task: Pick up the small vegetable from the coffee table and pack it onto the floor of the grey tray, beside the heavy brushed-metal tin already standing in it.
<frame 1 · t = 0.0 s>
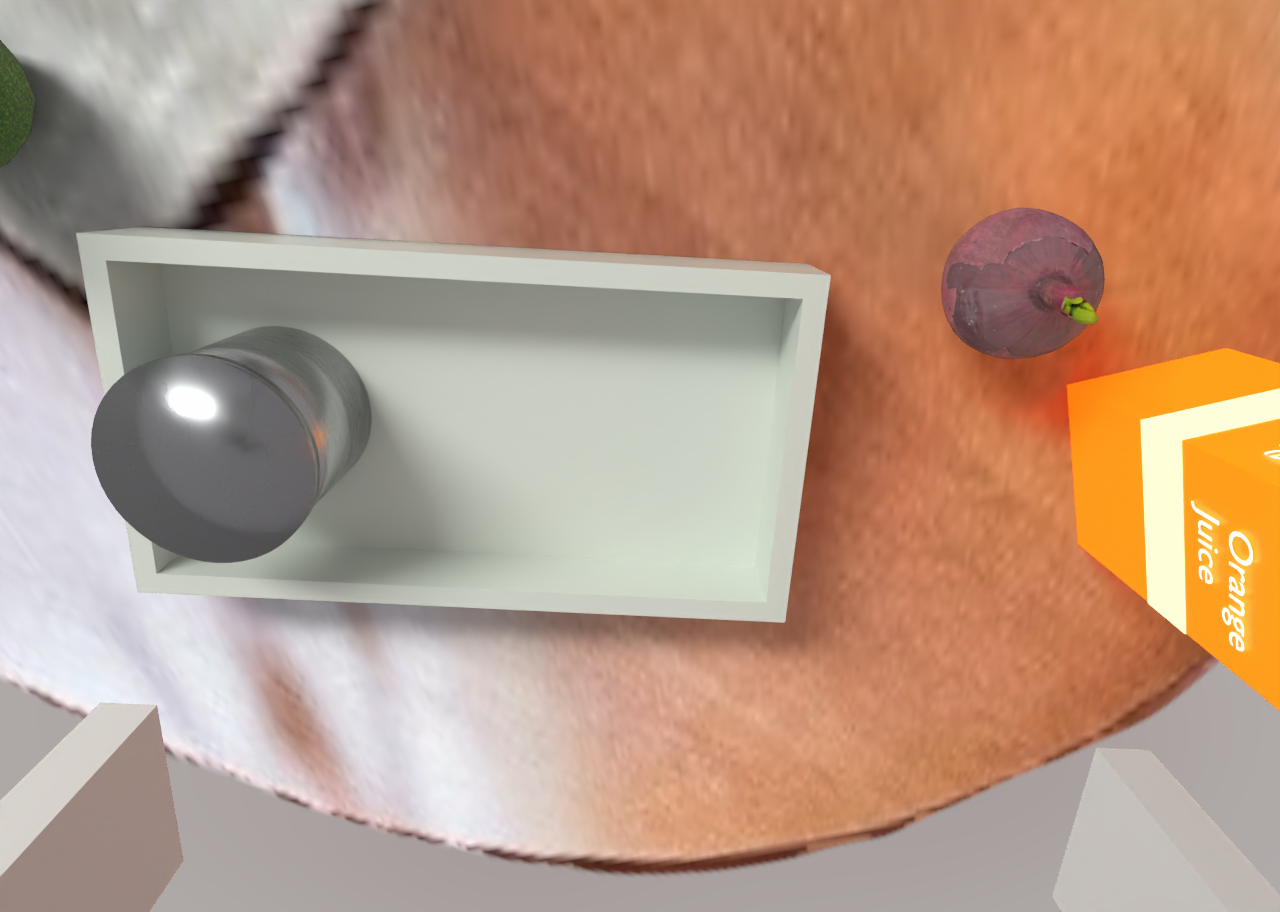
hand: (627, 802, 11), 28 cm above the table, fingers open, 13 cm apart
orange juice: (1147, 448, 39), on the table
vegetable: (979, 273, 37), on the table
grey tray: (480, 415, 39), on the table
tin: (286, 410, 38), point 1 cm above the table, touching grey tray
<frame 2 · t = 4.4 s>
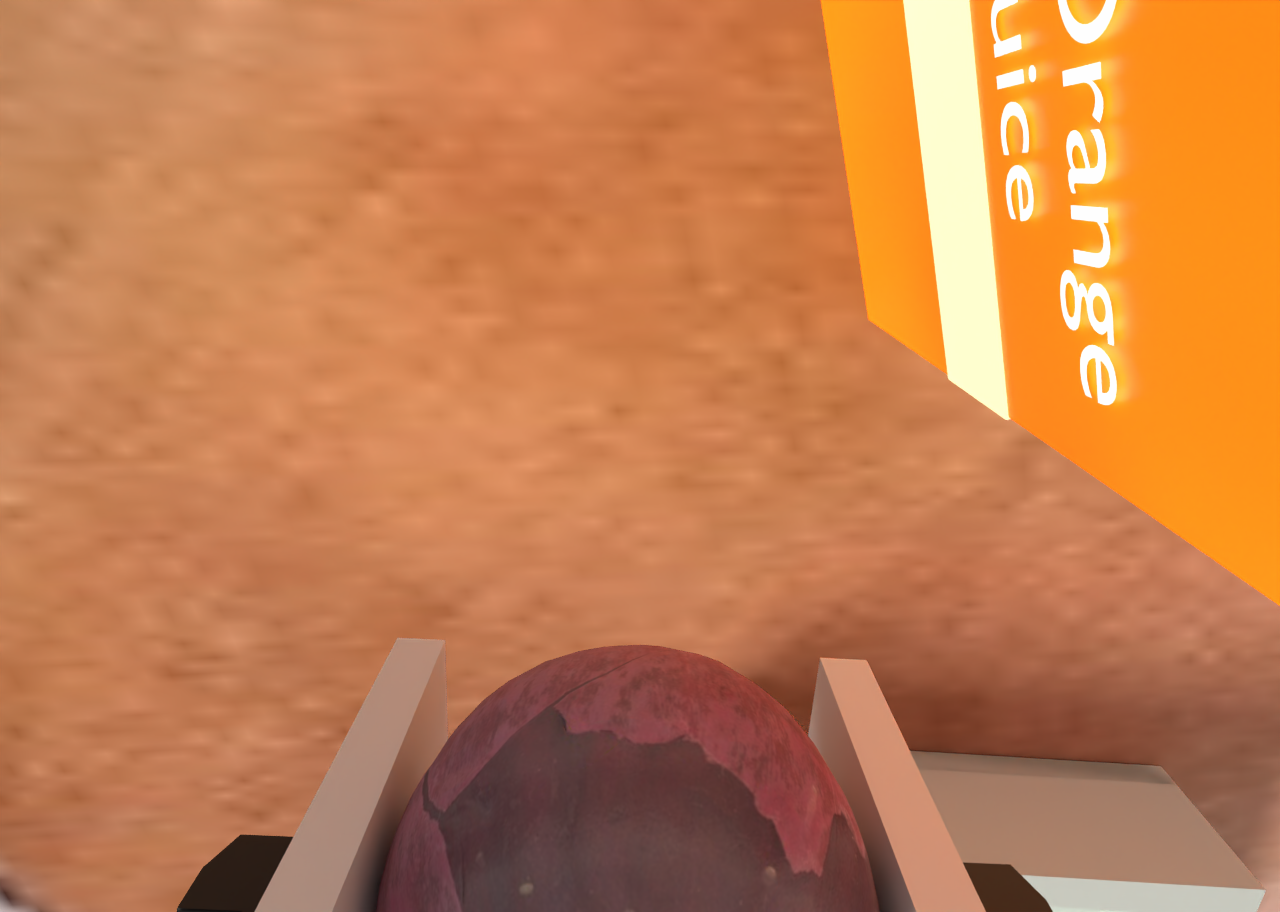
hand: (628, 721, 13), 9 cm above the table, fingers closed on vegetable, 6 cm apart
orange juice: (1026, 119, 19), on the table
vegetable: (629, 700, 14), point 9 cm above the table, touching gripper
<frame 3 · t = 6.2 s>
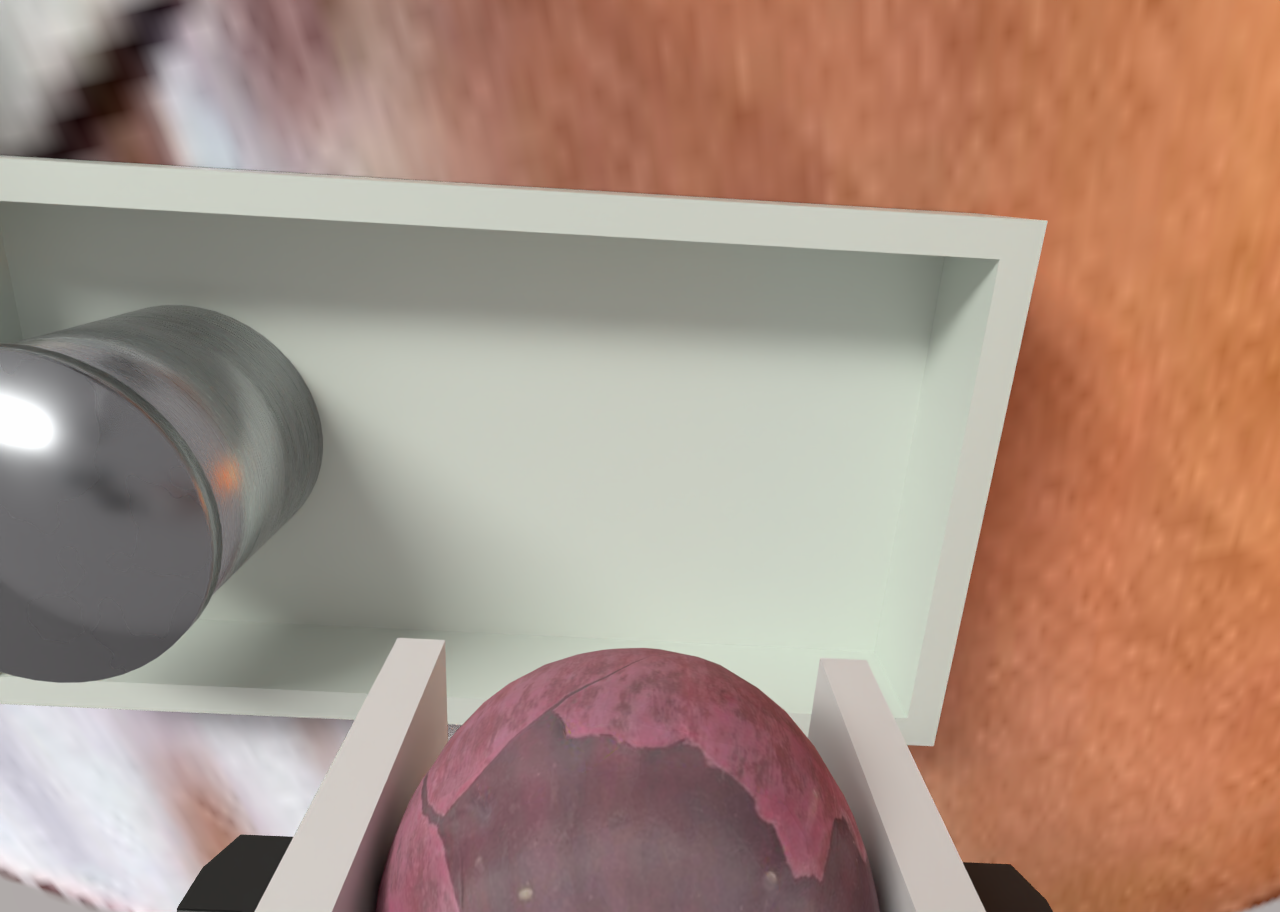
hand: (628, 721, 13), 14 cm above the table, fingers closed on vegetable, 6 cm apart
vegetable: (629, 702, 14), point 14 cm above the table, touching gripper
grey tray: (482, 437, 26), on the table
tin: (197, 430, 26), point 1 cm above the table, touching grey tray
when the fingers open (2 cm above the table, at t = 8.6 s): vegetable drops 1 cm, resting on grey tray.
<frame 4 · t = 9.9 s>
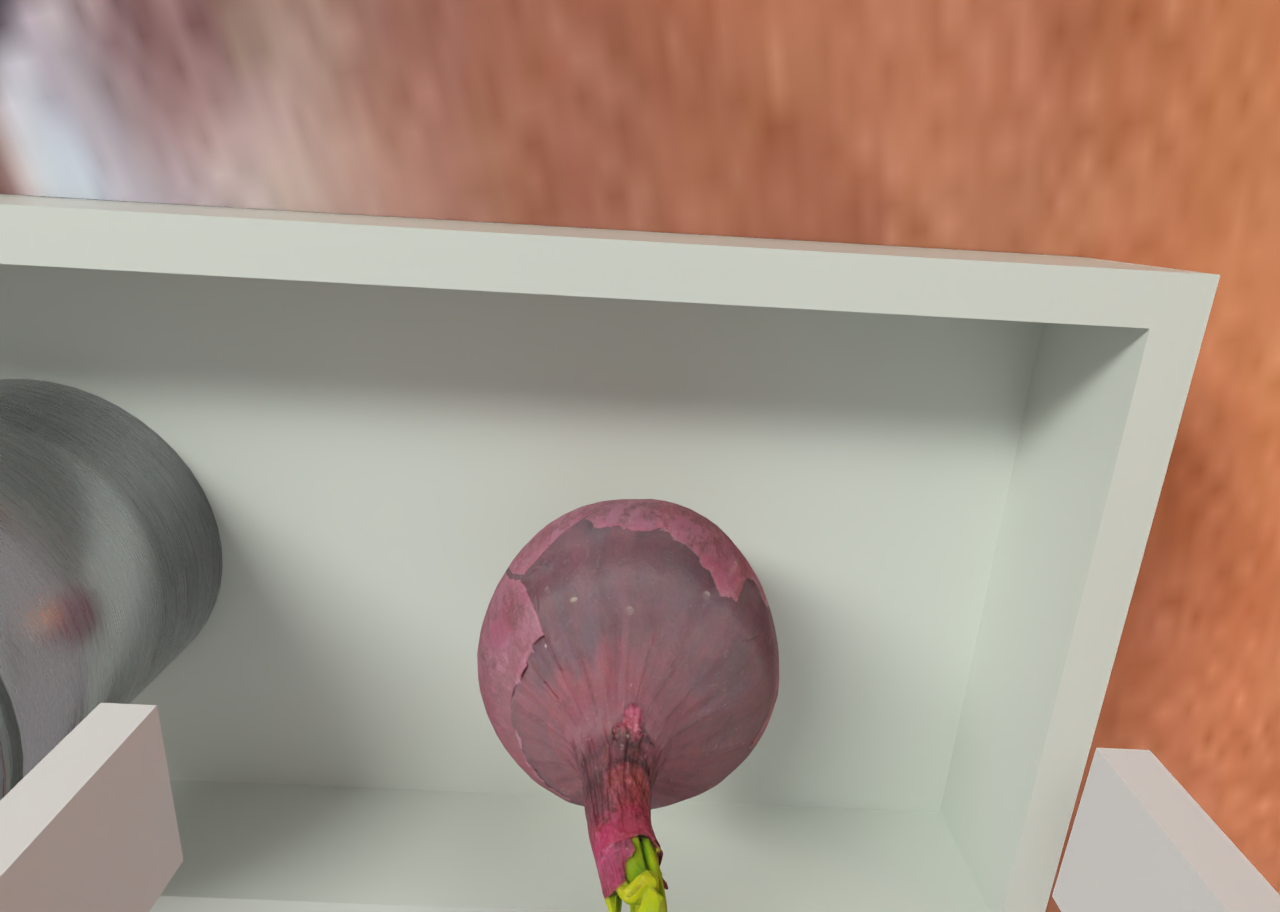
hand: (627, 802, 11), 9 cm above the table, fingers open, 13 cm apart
vegetable: (628, 564, 20), point 1 cm above the table, touching grey tray
grey tray: (434, 544, 20), on the table
tin: (56, 539, 19), point 1 cm above the table, touching grey tray
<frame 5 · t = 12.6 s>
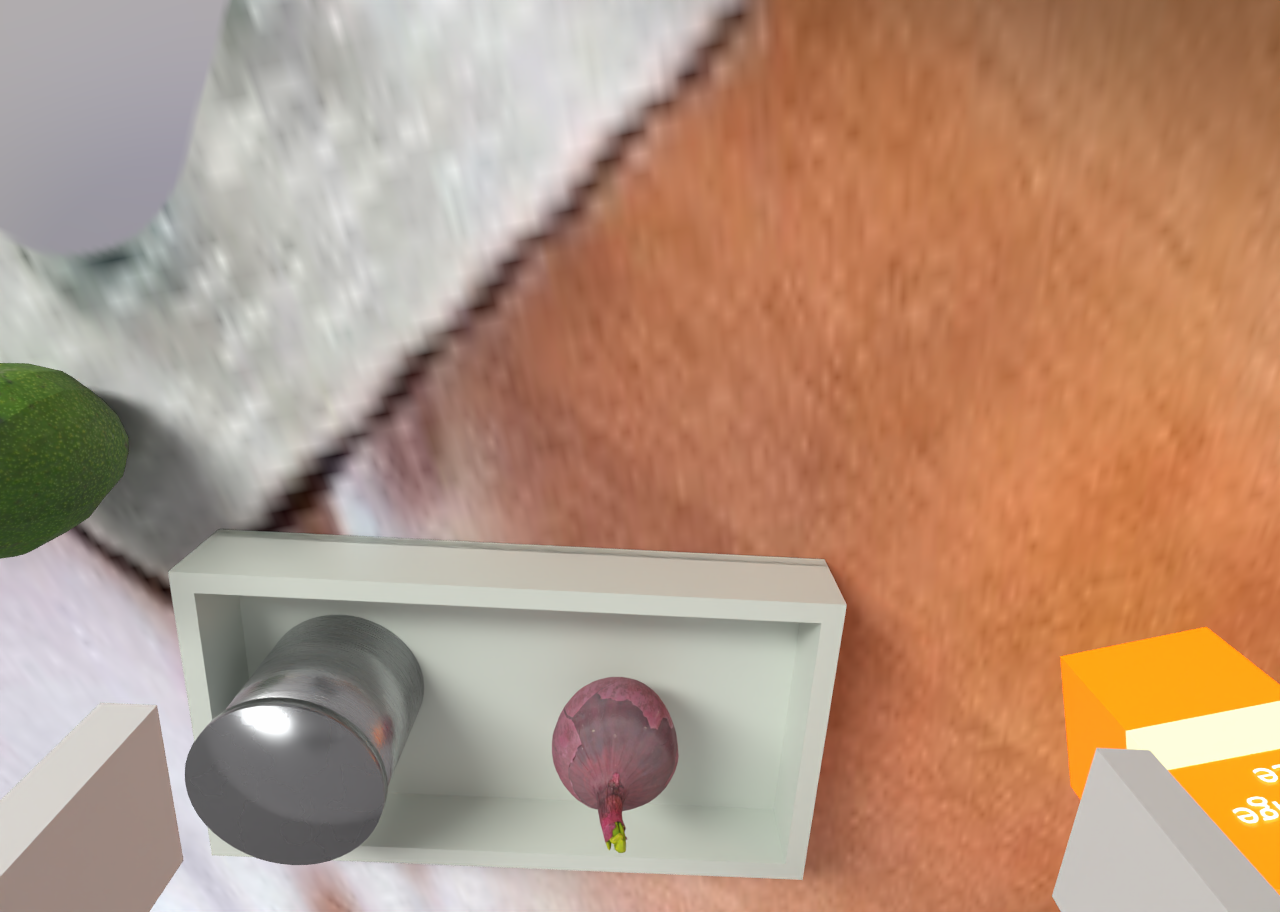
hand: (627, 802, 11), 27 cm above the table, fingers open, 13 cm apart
orange juice: (1134, 706, 43), on the table
avocado: (80, 424, 38), on the table
vegetable: (616, 692, 42), point 1 cm above the table, touching grey tray
grey tray: (522, 681, 42), on the table
tin: (346, 682, 41), point 1 cm above the table, touching grey tray
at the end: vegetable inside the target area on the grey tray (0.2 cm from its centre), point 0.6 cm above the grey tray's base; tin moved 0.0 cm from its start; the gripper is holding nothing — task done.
